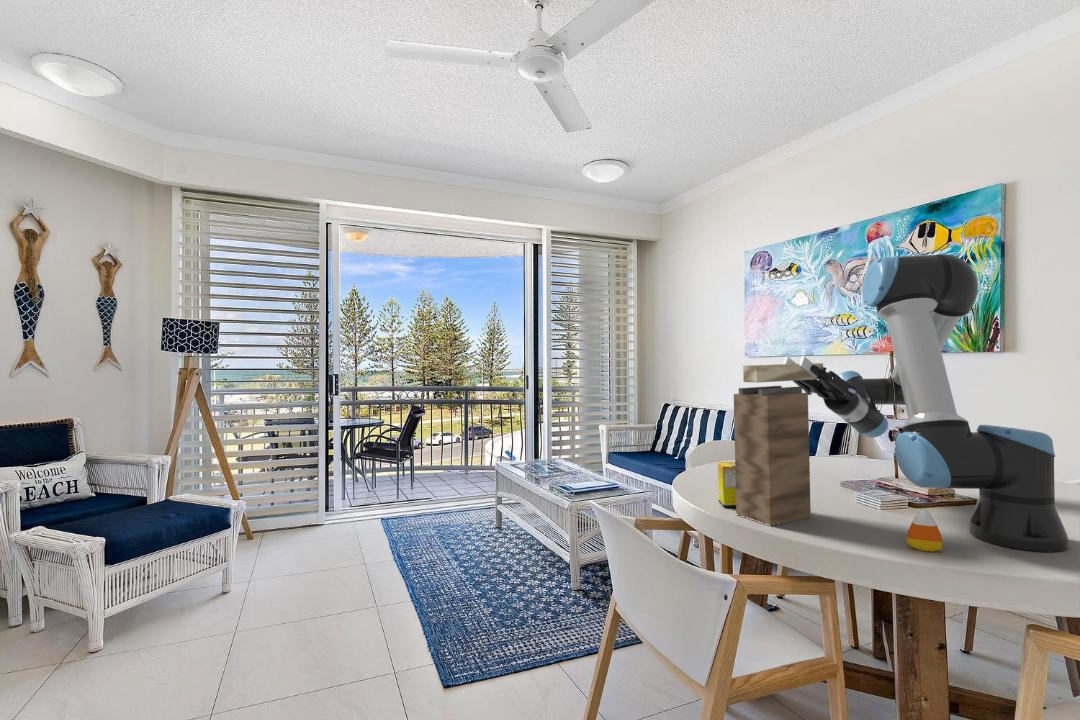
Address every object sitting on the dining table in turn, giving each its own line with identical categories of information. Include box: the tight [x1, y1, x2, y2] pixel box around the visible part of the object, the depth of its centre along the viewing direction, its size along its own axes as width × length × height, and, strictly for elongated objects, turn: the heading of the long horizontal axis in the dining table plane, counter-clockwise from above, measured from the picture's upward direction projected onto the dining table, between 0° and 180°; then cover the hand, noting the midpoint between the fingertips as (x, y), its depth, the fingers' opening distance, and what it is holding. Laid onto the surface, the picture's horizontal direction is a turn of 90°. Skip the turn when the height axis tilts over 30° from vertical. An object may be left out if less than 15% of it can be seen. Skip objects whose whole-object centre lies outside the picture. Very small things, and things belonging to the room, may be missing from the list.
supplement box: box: [717, 461, 736, 508], centre depth 138 cm, size 6×6×11 cm
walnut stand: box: [733, 385, 812, 525], centre depth 128 cm, size 10×14×32 cm
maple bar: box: [742, 362, 824, 384], centre depth 130 cm, size 4×24×4 cm, turn 116°
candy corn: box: [906, 509, 944, 553], centre depth 104 cm, size 6×3×8 cm, turn 63°
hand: (793, 361), depth 132 cm, fingers closed on maple bar, 4 cm apart
